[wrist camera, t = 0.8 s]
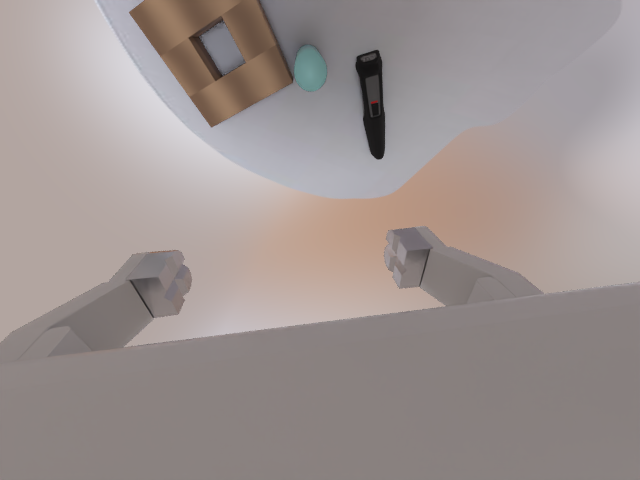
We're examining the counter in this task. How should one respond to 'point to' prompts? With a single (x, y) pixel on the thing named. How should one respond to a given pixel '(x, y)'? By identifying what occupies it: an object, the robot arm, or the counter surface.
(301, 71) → the peg
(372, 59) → the electric trimmer
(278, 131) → the counter surface
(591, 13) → the counter surface
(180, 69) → the socket block
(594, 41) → the counter surface
